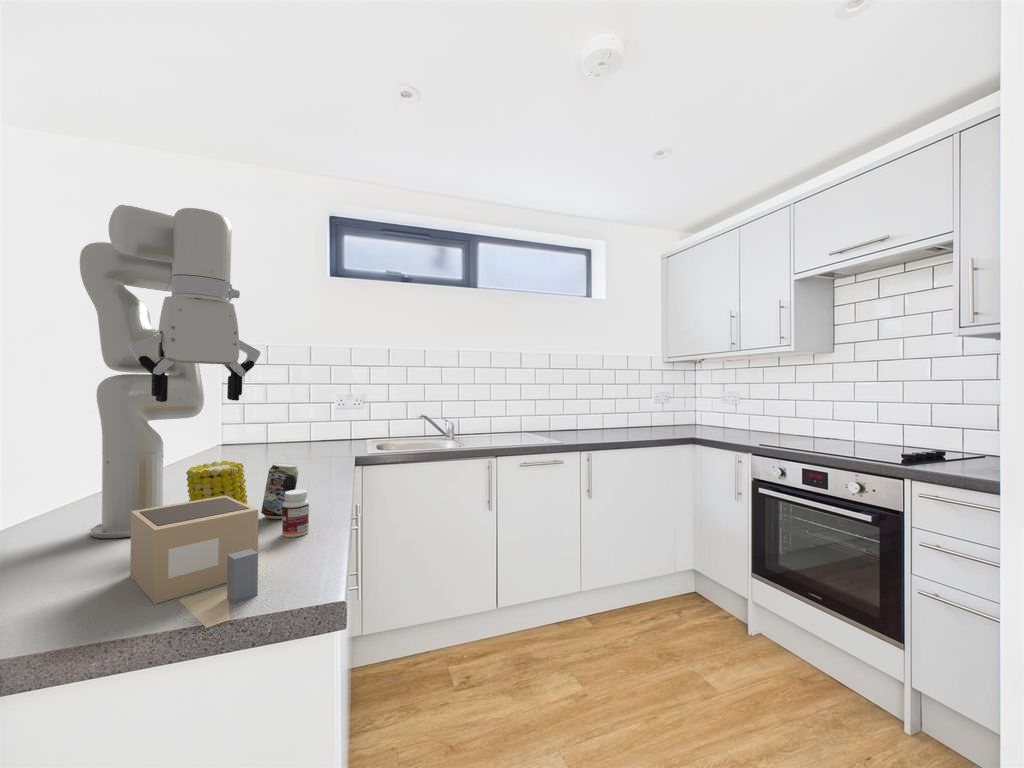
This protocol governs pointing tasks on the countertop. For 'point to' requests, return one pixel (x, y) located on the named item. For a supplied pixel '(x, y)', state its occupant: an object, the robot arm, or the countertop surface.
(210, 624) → the flap
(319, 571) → the countertop surface
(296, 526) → the pill bottle
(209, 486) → the food
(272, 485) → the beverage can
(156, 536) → the carton
